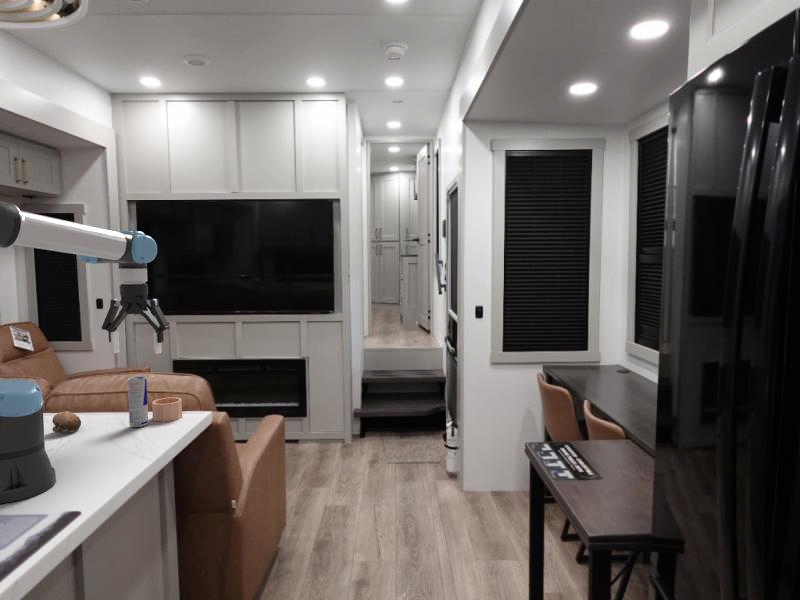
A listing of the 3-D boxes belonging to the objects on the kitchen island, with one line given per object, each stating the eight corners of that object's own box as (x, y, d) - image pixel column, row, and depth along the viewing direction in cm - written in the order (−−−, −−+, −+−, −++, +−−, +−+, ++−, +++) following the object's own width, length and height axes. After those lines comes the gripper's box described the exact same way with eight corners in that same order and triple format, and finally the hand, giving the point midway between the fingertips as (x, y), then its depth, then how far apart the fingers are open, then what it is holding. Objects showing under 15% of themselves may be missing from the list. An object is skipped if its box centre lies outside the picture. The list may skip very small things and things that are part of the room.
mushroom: (39, 423, 150) (54, 405, 151) (63, 426, 158) (76, 409, 158) (53, 440, 147) (67, 421, 148) (77, 442, 154) (90, 424, 155)
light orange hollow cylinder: (173, 422, 162) (172, 404, 161) (147, 421, 163) (146, 404, 162) (187, 414, 170) (186, 397, 170) (162, 413, 171) (161, 397, 171)
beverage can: (151, 423, 160) (150, 375, 159) (142, 428, 155) (140, 379, 154) (136, 423, 161) (134, 375, 160) (125, 428, 156) (124, 379, 155)
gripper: (179, 282, 157) (182, 351, 159) (103, 282, 160) (106, 350, 162) (166, 283, 150) (169, 356, 152) (86, 283, 153) (89, 354, 154)
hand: (136, 353), depth 157 cm, fingers open, 13 cm apart
